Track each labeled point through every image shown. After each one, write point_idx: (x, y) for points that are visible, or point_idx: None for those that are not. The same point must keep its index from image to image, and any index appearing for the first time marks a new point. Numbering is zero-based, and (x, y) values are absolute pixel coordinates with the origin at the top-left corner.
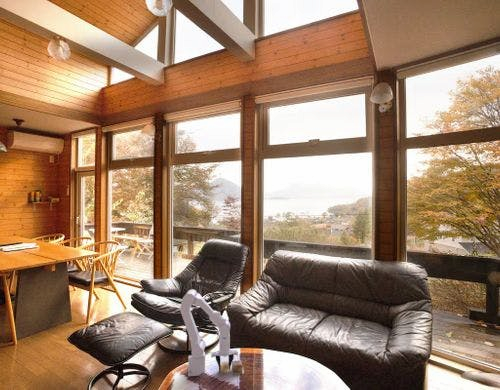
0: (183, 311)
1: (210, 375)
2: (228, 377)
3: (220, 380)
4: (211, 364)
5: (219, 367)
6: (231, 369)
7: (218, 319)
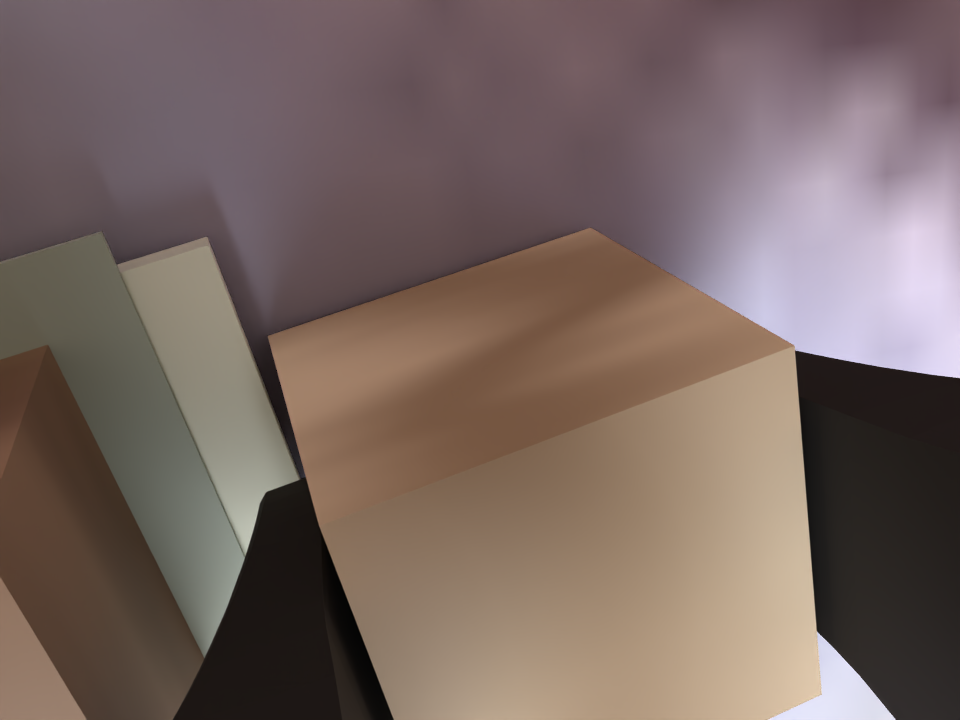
0: None
1: (919, 140)
2: (224, 61)
3: None
4: (874, 705)
5: None
6: (216, 595)
7: None
